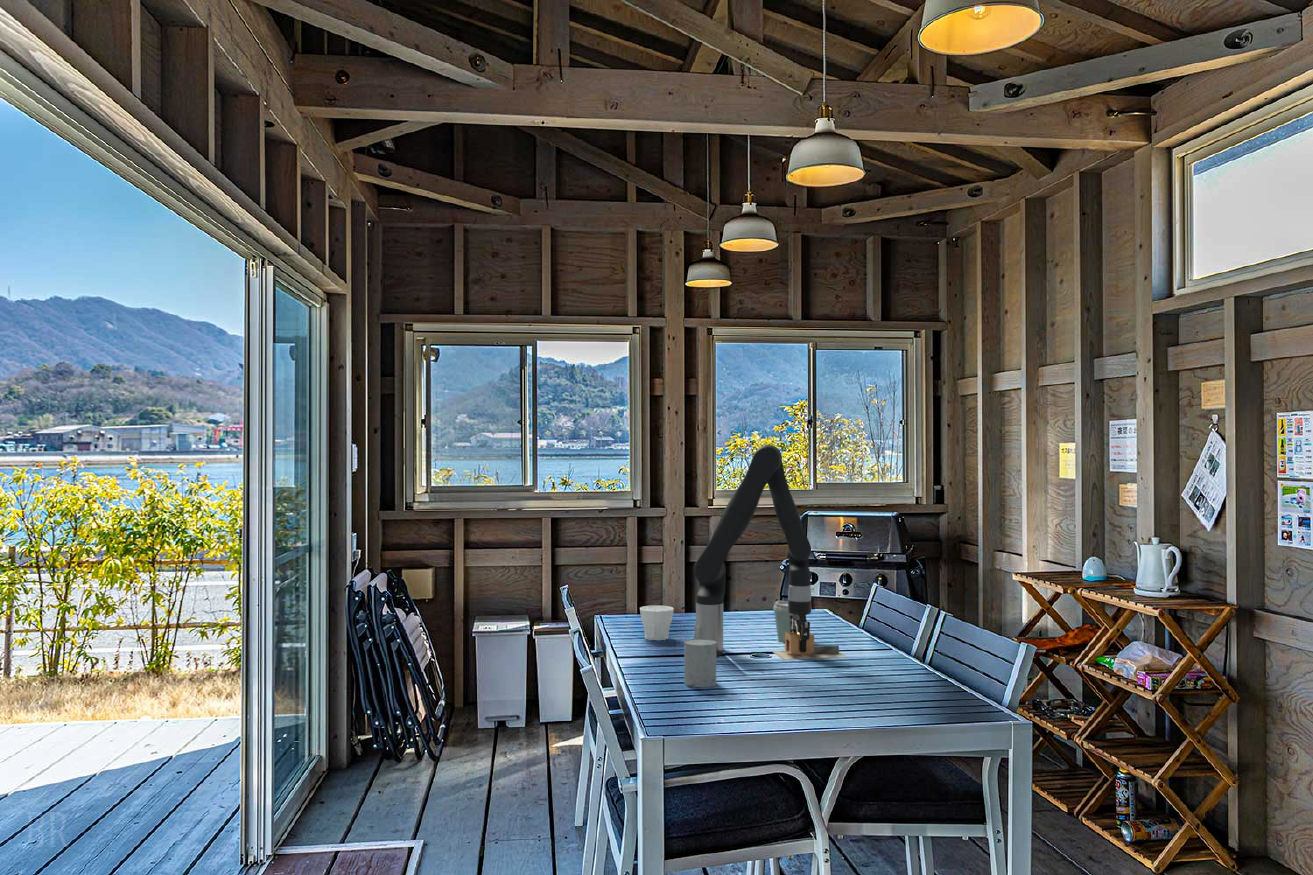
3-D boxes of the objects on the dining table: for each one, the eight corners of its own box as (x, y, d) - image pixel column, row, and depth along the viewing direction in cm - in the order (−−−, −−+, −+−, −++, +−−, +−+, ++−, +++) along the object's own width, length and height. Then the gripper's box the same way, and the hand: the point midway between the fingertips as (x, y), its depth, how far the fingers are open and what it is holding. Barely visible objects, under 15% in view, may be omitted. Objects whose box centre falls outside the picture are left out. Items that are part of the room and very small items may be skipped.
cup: (680, 637, 345) (680, 607, 345) (661, 643, 334) (662, 612, 334) (651, 633, 351) (651, 604, 351) (632, 639, 341) (632, 609, 341)
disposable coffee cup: (802, 642, 338) (802, 600, 338) (804, 648, 327) (804, 605, 327) (772, 641, 339) (772, 599, 339) (773, 647, 328) (773, 604, 328)
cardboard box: (808, 649, 314) (808, 631, 314) (814, 653, 308) (814, 634, 308) (785, 650, 313) (785, 632, 313) (790, 654, 307) (790, 635, 307)
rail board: (783, 663, 303) (783, 651, 303) (771, 655, 315) (772, 643, 315) (847, 661, 307) (847, 649, 307) (834, 653, 319) (834, 641, 319)
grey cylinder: (694, 689, 272) (694, 646, 272) (678, 681, 280) (678, 640, 280) (722, 685, 276) (722, 643, 276) (705, 678, 284) (706, 637, 285)
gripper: (818, 602, 304) (817, 654, 304) (803, 595, 319) (803, 644, 318) (795, 602, 303) (795, 655, 303) (781, 595, 317) (781, 645, 317)
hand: (799, 649), depth 311 cm, fingers closed on cardboard box, 6 cm apart
